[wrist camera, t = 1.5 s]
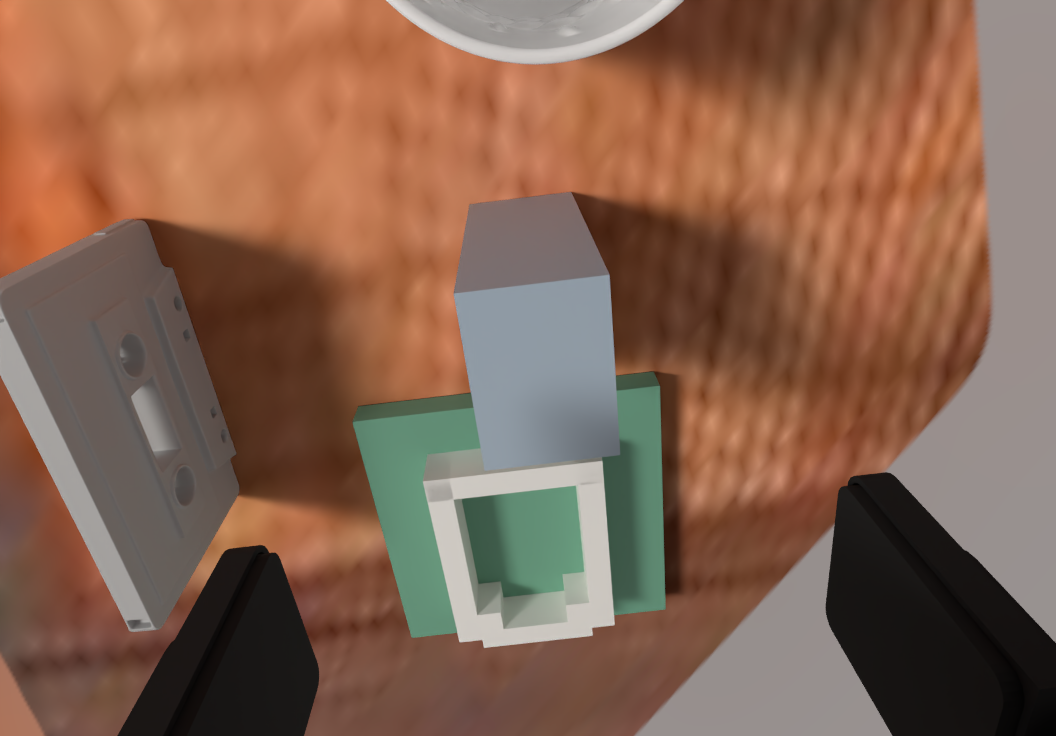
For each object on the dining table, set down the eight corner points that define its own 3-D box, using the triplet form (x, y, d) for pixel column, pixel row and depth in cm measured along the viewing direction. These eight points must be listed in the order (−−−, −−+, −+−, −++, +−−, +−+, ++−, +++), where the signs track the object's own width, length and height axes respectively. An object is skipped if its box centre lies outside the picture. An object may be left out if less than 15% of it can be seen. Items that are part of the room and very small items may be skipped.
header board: (358, 406, 27) (342, 447, 24) (653, 371, 26) (670, 409, 24) (414, 617, 32) (406, 670, 29) (659, 590, 32) (674, 640, 29)
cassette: (106, 219, 23) (-62, 297, 16) (159, 214, 23) (14, 290, 16) (210, 494, 28) (117, 639, 22) (253, 490, 28) (174, 634, 22)
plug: (469, 204, 23) (454, 293, 15) (571, 191, 23) (609, 274, 15) (492, 356, 26) (489, 500, 18) (583, 345, 26) (622, 485, 18)
